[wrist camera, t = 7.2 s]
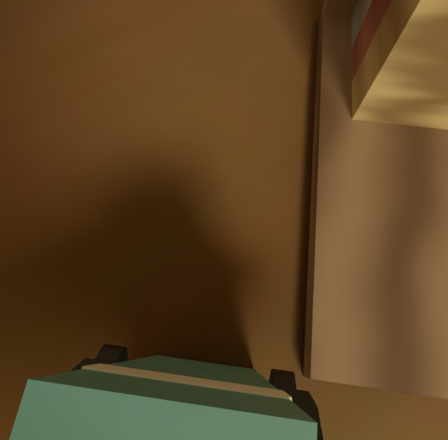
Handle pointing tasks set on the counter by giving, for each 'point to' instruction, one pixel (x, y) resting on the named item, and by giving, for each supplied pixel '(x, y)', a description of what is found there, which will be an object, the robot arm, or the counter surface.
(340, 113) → the book rack
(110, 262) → the counter surface
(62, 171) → the counter surface
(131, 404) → the teal book
